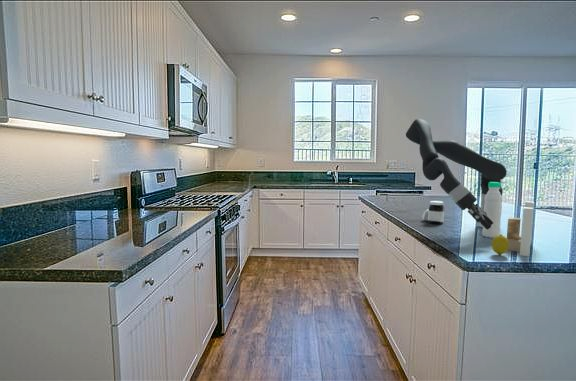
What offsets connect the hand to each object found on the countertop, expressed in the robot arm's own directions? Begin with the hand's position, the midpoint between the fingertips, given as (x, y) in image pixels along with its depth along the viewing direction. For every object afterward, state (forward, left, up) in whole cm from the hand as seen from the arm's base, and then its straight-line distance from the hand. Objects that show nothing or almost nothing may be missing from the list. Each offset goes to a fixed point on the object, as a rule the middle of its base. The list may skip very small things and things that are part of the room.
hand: (490, 226), depth 148 cm
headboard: (+9, +5, -8) cm, 13 cm away
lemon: (+12, -11, -8) cm, 18 cm away
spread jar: (-44, +14, -8) cm, 47 cm away
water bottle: (-9, +13, -8) cm, 18 cm away
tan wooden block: (+7, +4, -8) cm, 11 cm away
